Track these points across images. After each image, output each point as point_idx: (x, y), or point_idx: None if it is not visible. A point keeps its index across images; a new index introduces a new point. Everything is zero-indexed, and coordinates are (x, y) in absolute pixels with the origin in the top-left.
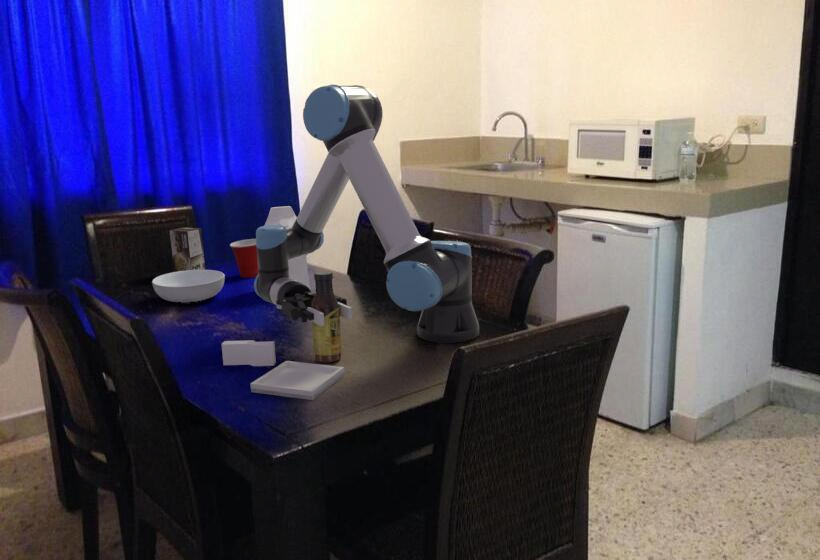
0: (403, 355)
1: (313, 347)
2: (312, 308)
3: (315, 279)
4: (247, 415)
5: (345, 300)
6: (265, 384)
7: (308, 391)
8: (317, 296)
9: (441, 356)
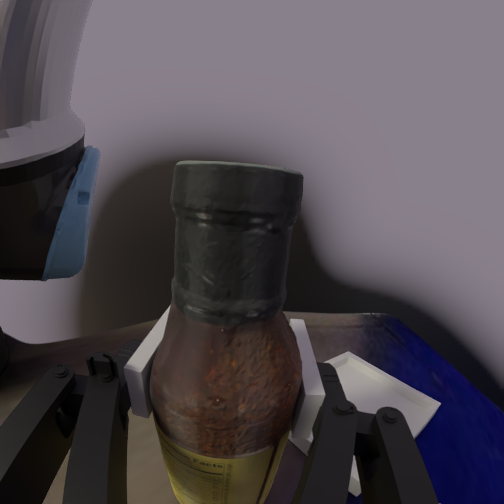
0: None
1: (267, 495)
2: (305, 371)
3: (299, 211)
4: (427, 363)
5: (67, 367)
6: (416, 392)
7: (353, 354)
8: (282, 313)
9: (68, 343)
